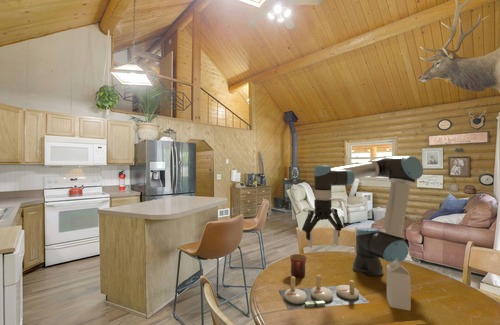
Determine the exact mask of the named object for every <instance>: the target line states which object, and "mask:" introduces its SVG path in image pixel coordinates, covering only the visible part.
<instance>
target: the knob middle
mask: <svg viewBox="0 0 500 325" xmlns="http://www.w3.org/2000/svg"><path fill="white" fill-rule="evenodd" d="M315 277H316V278H315V280H316V281H315V282H316V283H315V284H316V285H315V286H313V287H311V288H312V289H311V296H312V297H313V298H314V299H316V300H318V301H324V302H328V301H331V300H332V299H333V292H332V291H331V290H330V289H328V288H325V287H326V286H322V276H321V274H316V276H315Z"/></svg>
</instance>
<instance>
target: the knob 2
mask: <svg viewBox="0 0 500 325" xmlns="http://www.w3.org/2000/svg"><path fill="white" fill-rule="evenodd" d="M348 285H349V286H348ZM336 286H337V288H336V292H337V294H338V295H339V296H341V297H343V298H346V299H357V298H358V297H359V294H360V291H359V289H357V288H356V287H355V280H353V279H349V284H340V285H336Z"/></svg>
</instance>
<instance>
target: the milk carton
mask: <svg viewBox="0 0 500 325" xmlns="http://www.w3.org/2000/svg"><path fill="white" fill-rule="evenodd" d="M411 277H412V276H411V273H409V271H408V270H407V268H406V267H404V266H403V265H402V264H401V263H400V262H399V261H398V259H397V258H396V260H395V261H393V262H389V264H387V265H386V300H387V303H388V305H389V307H390V308H391V309H394V308H395V309H399V310H404V311H408V312H409V311H411V307H412V306H411V303H412V302H411V299H412V298H411V297H412V296H411V295H412V294H411V293H412V292H411V284H412V283H411Z"/></svg>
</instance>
